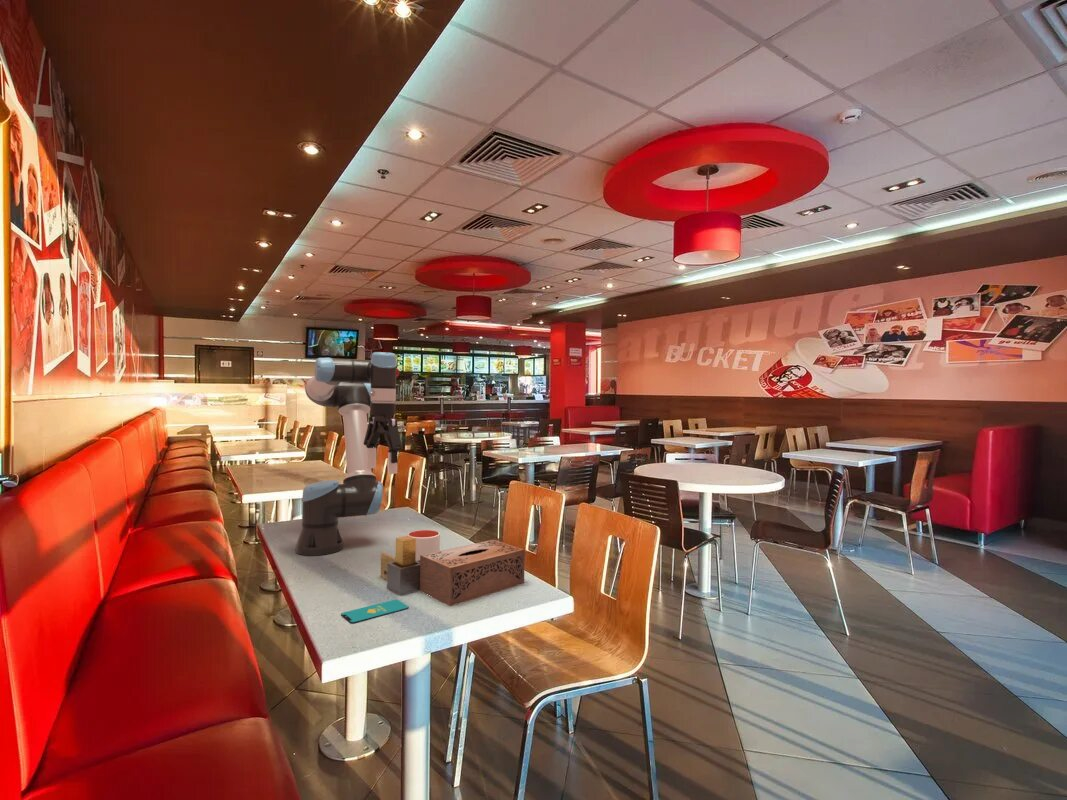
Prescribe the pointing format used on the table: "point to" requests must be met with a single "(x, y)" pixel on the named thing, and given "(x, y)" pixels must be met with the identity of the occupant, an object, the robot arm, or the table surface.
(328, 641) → the table surface
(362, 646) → the table surface
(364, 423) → the robot arm
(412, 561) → the pin
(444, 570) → the tissue box cover
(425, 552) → the cup
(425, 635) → the table surface
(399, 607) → the smartphone
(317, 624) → the table surface
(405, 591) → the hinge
